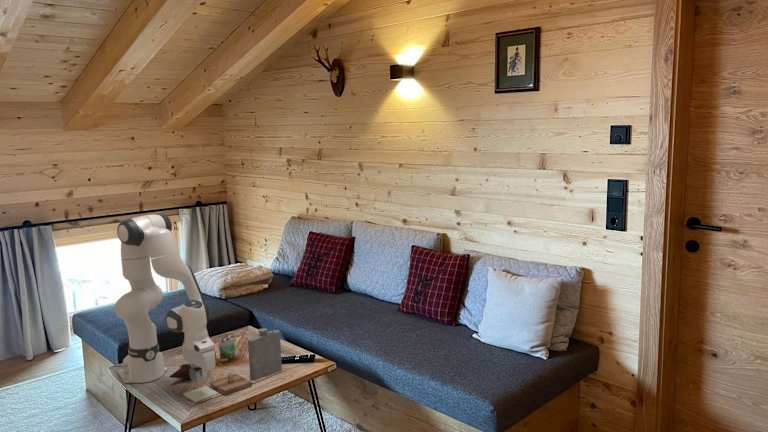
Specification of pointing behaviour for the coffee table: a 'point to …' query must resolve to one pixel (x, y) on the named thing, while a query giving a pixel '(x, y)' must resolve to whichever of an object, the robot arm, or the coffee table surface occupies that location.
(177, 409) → the coffee table surface
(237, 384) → the peg stand
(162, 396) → the coffee table surface
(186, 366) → the icecream
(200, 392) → the pad
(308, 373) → the coffee table surface
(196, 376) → the collar
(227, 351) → the food container
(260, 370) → the hip flask
